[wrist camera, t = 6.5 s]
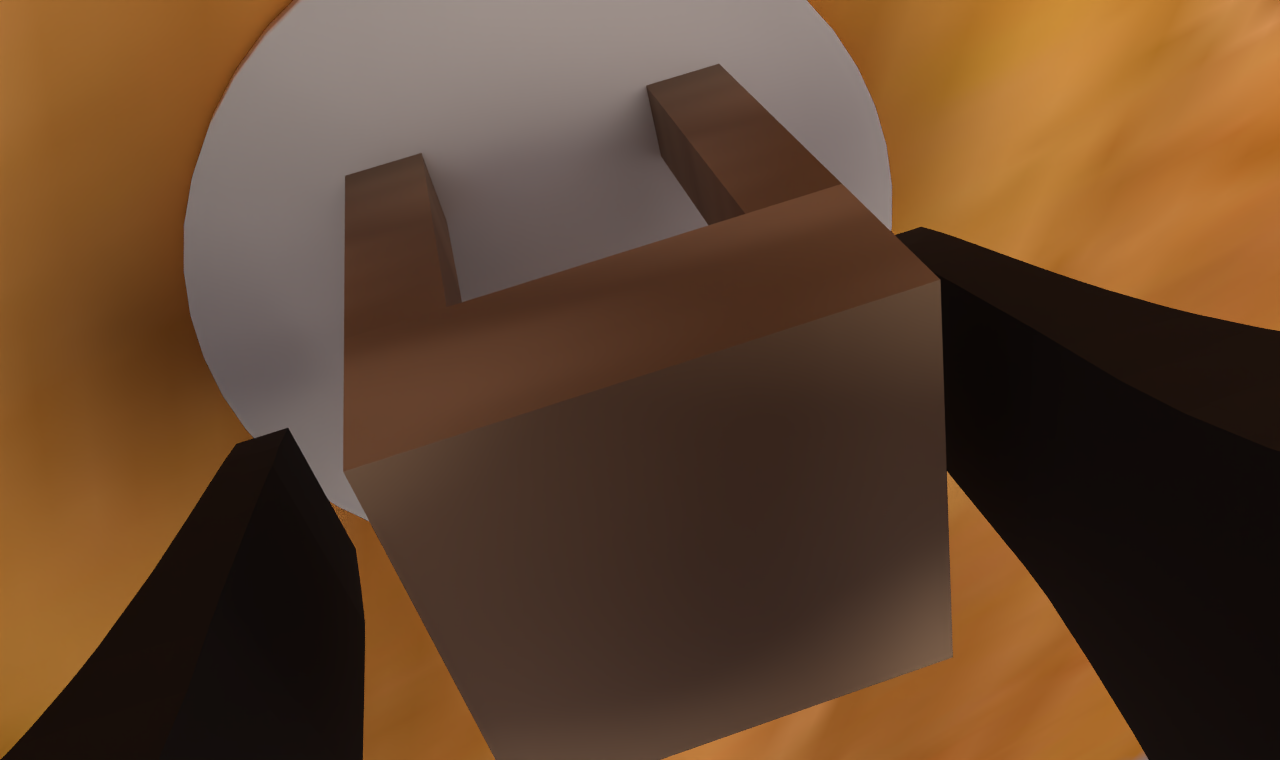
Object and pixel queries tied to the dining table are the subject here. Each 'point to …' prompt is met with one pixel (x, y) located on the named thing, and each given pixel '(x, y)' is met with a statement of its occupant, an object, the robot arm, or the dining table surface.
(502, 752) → the stool
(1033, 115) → the dining table surface
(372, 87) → the plate
